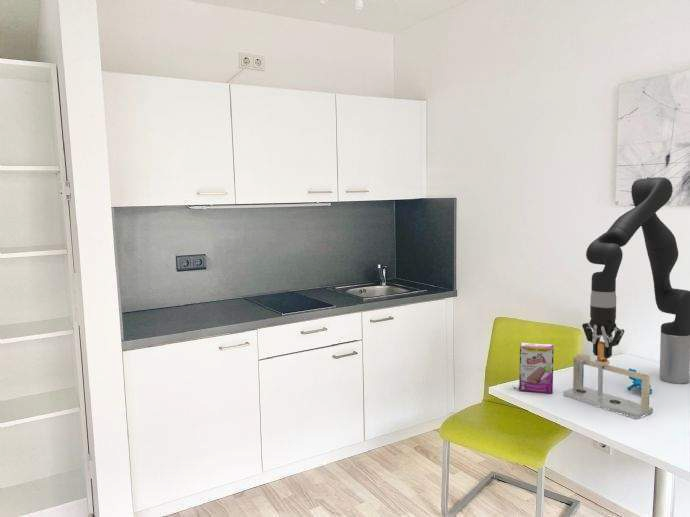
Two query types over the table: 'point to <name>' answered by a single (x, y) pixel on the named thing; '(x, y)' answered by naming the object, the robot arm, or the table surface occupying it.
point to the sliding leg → (601, 365)
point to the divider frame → (606, 399)
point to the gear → (636, 382)
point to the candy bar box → (536, 367)
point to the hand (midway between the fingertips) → (602, 356)
